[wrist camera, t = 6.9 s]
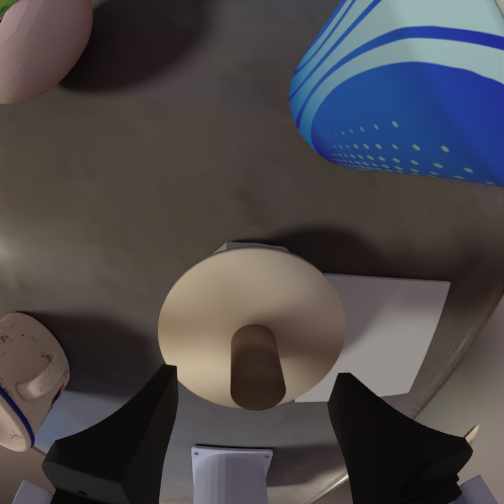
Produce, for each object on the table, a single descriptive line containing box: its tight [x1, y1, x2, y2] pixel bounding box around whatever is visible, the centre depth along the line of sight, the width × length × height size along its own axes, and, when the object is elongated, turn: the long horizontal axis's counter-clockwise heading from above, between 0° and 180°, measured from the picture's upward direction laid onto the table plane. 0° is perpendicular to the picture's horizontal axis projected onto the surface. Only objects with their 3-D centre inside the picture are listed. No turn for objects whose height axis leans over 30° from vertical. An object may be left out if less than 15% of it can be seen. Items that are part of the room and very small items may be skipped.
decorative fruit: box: [0, 0, 93, 104], centre depth 10 cm, size 9×8×10 cm
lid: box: [158, 246, 346, 411], centre depth 14 cm, size 10×10×5 cm
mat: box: [295, 273, 451, 402], centre depth 22 cm, size 12×12×1 cm
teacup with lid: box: [0, 313, 70, 452], centre depth 15 cm, size 12×9×12 cm
